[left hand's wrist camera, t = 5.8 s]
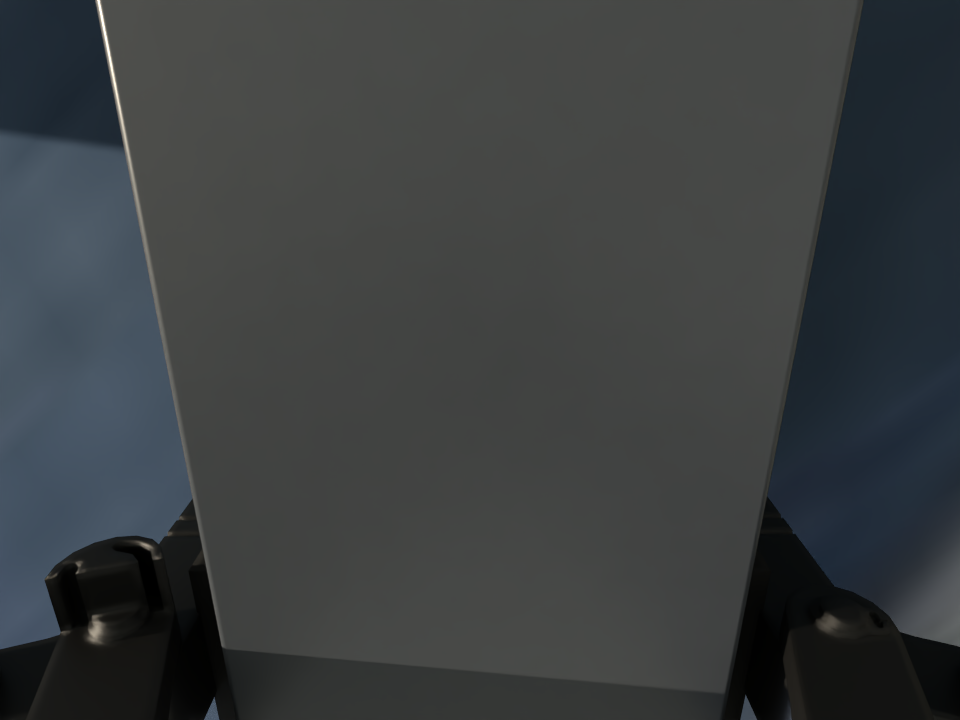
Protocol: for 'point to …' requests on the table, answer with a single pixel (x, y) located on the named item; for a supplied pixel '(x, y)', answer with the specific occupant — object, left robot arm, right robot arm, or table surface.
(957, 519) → the table surface
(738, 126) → the post
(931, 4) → the table surface
